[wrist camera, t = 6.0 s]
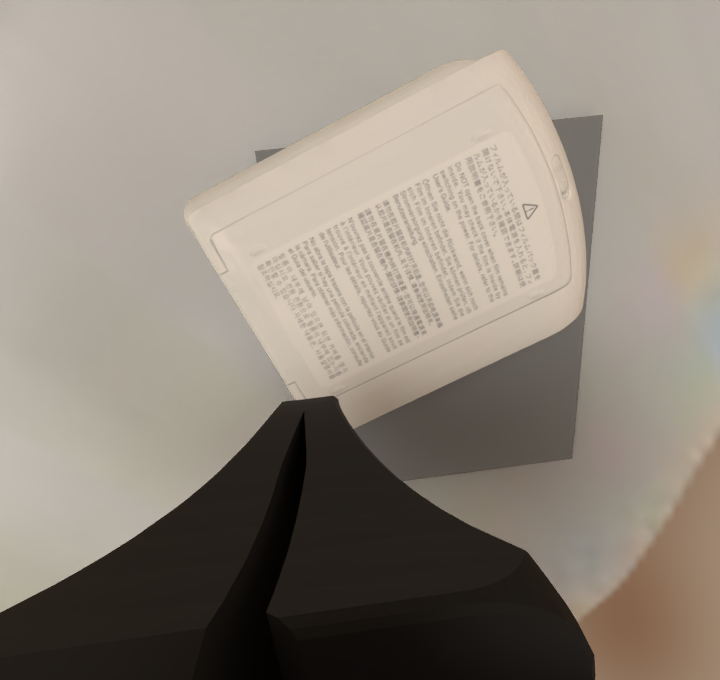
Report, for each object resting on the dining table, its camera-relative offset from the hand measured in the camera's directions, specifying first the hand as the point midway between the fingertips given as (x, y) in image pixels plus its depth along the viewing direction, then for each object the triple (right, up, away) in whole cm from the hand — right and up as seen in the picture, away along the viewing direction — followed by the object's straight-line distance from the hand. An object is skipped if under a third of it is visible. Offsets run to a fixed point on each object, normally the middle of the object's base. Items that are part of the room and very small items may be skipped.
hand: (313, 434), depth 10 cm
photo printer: (-3, +3, +6) cm, 7 cm away
